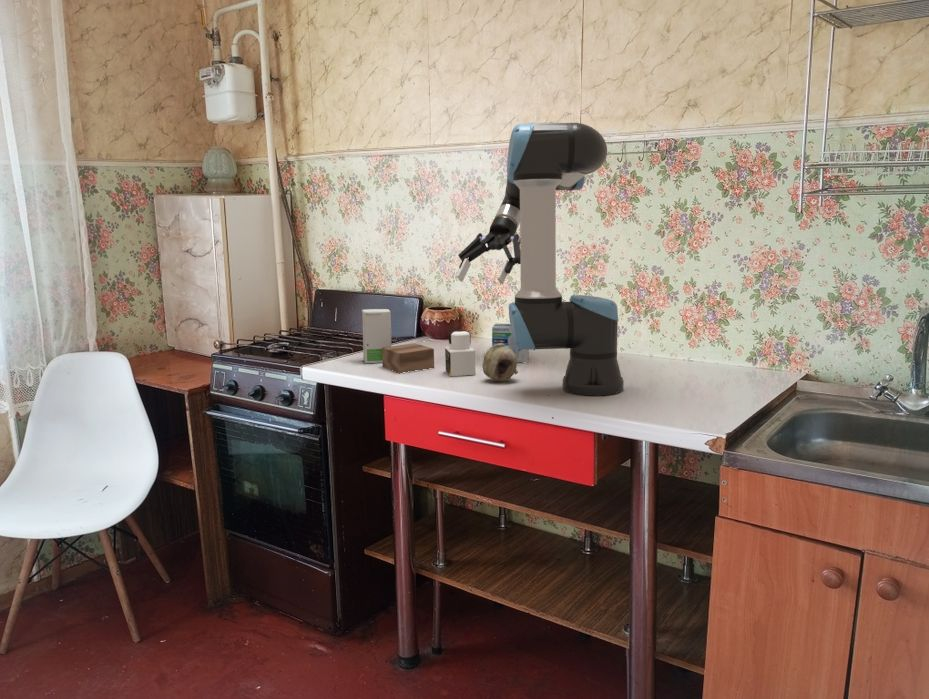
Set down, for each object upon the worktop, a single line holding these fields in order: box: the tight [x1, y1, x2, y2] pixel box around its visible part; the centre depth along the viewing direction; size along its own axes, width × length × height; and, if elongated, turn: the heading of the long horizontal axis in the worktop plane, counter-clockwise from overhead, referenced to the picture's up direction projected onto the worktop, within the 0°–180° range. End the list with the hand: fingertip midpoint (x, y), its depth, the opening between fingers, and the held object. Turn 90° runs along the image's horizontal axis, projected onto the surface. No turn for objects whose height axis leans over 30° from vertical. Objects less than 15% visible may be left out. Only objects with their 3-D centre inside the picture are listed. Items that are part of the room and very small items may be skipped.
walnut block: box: [382, 342, 435, 374], centre depth 217 cm, size 11×11×6 cm
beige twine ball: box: [481, 343, 519, 383], centre depth 198 cm, size 10×8×10 cm
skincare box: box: [361, 308, 392, 364], centre depth 226 cm, size 8×7×16 cm
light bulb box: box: [491, 323, 530, 363], centre depth 223 cm, size 11×7×11 cm, turn 80°
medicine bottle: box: [444, 329, 476, 377], centre depth 207 cm, size 7×7×12 cm
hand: (479, 280), depth 213 cm, fingers open, 13 cm apart
